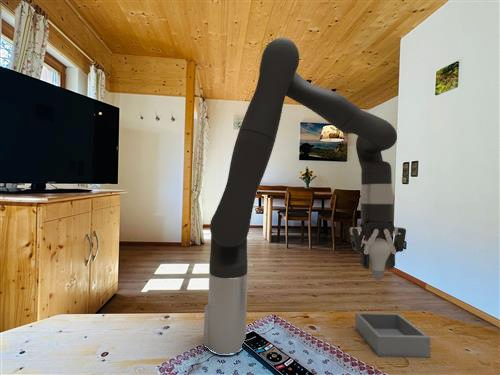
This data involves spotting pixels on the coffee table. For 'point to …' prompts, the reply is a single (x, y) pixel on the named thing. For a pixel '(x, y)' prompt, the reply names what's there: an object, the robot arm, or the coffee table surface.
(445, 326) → the coffee table surface
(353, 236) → the robot arm
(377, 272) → the lightbulb
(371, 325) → the tray
